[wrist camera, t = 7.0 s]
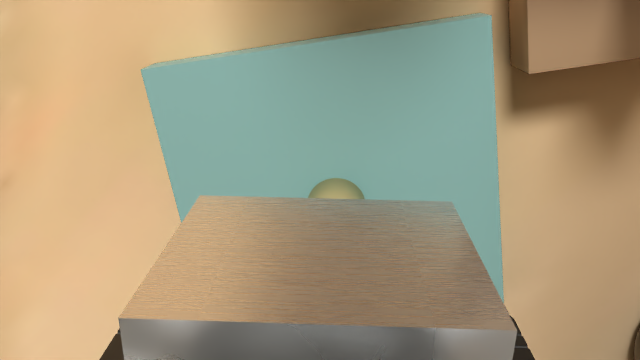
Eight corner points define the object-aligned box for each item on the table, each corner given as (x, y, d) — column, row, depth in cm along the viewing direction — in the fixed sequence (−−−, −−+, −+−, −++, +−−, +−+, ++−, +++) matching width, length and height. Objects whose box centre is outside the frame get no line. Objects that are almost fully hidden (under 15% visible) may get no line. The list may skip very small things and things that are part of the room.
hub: (154, 63, 20) (63, 103, 13) (480, 12, 19) (553, 29, 12) (223, 331, 24) (179, 462, 17) (494, 301, 23) (555, 429, 16)
